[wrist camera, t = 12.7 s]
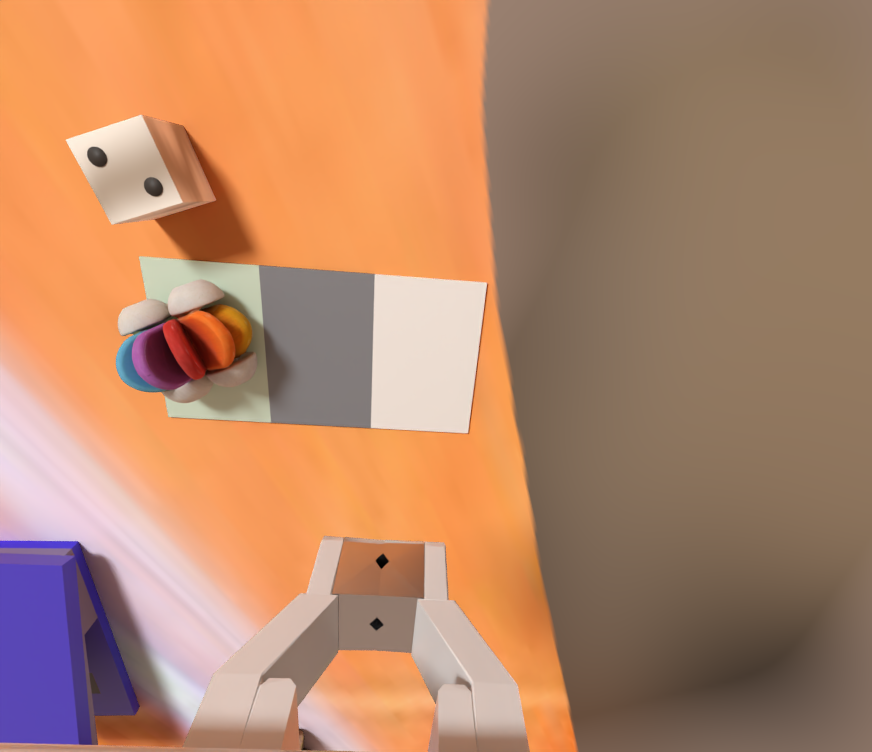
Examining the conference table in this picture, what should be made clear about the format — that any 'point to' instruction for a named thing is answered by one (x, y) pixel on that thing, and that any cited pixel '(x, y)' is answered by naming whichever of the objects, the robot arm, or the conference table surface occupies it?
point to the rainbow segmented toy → (185, 344)
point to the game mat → (340, 345)
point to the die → (142, 169)
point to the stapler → (55, 648)
